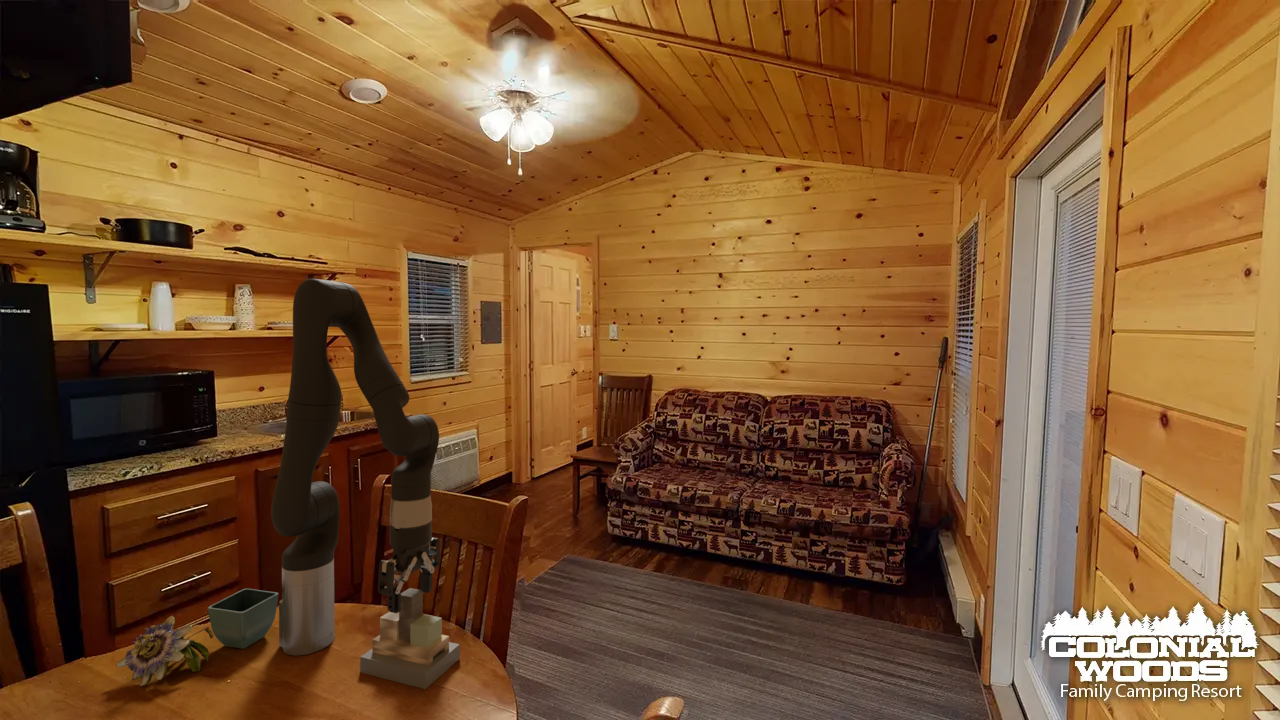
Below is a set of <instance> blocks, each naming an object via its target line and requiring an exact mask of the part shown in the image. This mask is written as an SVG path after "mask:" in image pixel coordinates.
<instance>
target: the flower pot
mask: <svg viewBox="0 0 1280 720" xmlns="http://www.w3.org/2000/svg"><path fill="white" fill-rule="evenodd" d="M279 595H280V594H279V592H276V591H268V590H260V589H254V588H244V589H241V590H239V591H237V592H235V593H233V594H231V595H229V596H227V597H225V598H222V599H221V600H220V601H218V602H215V603H213V604H211V605H210V606H208V607H207V613H208V617H209V621H210V627H211V631H212V632H213V633H212V634H213V636H215V638H216V639H217V640H218V642H220V643H221V644H222V645H223V646H224V647H231V648H237V649H241V650H242V649H246V648H249V646H252V645H253V644H255V642H257V641H260V640H261V639H262V638H264V637H265V636H266V635H267V633H268V632H269V630H270V629H271V627H272V625H273V624H274V621H275V618H276V613H277V607H278V600H279Z"/></svg>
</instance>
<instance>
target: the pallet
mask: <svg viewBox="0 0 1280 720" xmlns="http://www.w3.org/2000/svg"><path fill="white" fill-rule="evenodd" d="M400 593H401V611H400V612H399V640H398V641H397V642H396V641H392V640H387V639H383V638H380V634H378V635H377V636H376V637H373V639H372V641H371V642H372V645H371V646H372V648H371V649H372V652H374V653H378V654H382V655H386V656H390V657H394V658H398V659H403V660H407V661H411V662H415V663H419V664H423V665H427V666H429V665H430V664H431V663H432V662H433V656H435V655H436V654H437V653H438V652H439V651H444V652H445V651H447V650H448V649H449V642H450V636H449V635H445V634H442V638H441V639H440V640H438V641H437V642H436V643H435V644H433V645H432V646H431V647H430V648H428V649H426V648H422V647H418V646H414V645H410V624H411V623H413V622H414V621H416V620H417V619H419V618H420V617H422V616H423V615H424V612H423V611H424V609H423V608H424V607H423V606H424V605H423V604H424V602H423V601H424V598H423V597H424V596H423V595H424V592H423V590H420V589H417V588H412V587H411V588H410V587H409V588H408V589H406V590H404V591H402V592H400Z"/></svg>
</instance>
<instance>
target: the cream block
mask: <svg viewBox="0 0 1280 720" xmlns="http://www.w3.org/2000/svg"><path fill="white" fill-rule="evenodd" d="M379 635H380V638H383V639H387V640H392V641H396V642H397V641H398V640H399V612H398V613H392V612H390V611H388V612H387V613H385V614H383V615H381V616H380V617H379Z"/></svg>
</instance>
